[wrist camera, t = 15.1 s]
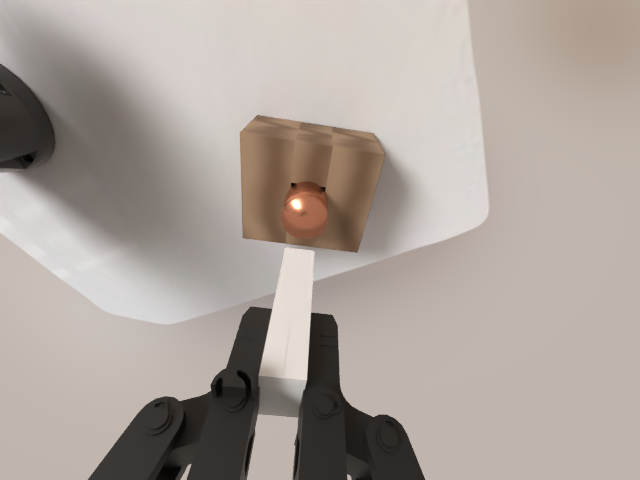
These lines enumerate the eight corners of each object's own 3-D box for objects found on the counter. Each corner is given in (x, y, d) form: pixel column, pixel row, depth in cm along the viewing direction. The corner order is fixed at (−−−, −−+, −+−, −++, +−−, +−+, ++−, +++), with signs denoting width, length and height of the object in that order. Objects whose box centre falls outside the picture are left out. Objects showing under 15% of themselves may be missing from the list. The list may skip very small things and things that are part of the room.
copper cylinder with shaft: (289, 195, 40) (279, 236, 31) (292, 161, 37) (282, 195, 28) (324, 200, 40) (323, 241, 32) (330, 166, 37) (331, 202, 29)
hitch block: (256, 206, 44) (242, 238, 37) (257, 115, 36) (239, 132, 29) (352, 219, 46) (357, 252, 38) (373, 133, 37) (385, 154, 30)
